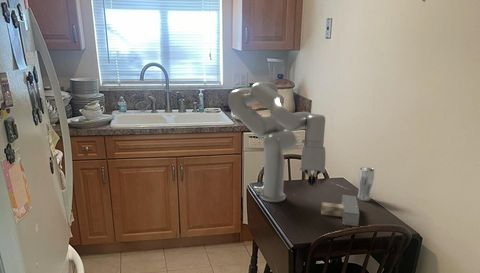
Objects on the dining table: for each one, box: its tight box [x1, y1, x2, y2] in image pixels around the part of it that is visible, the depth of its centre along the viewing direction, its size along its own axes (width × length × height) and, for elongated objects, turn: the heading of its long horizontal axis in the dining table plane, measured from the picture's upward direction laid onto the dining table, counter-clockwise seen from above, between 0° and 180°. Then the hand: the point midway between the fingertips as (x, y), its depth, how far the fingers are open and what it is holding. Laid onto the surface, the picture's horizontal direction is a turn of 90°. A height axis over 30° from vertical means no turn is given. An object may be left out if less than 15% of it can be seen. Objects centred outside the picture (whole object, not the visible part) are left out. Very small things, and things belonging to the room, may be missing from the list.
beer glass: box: [356, 166, 375, 202], centre depth 179 cm, size 7×7×15 cm
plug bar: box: [320, 201, 343, 218], centre depth 162 cm, size 13×4×4 cm, turn 77°
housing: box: [340, 194, 360, 227], centre depth 161 cm, size 6×19×6 cm, turn 167°
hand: (311, 184), depth 162 cm, fingers closed
